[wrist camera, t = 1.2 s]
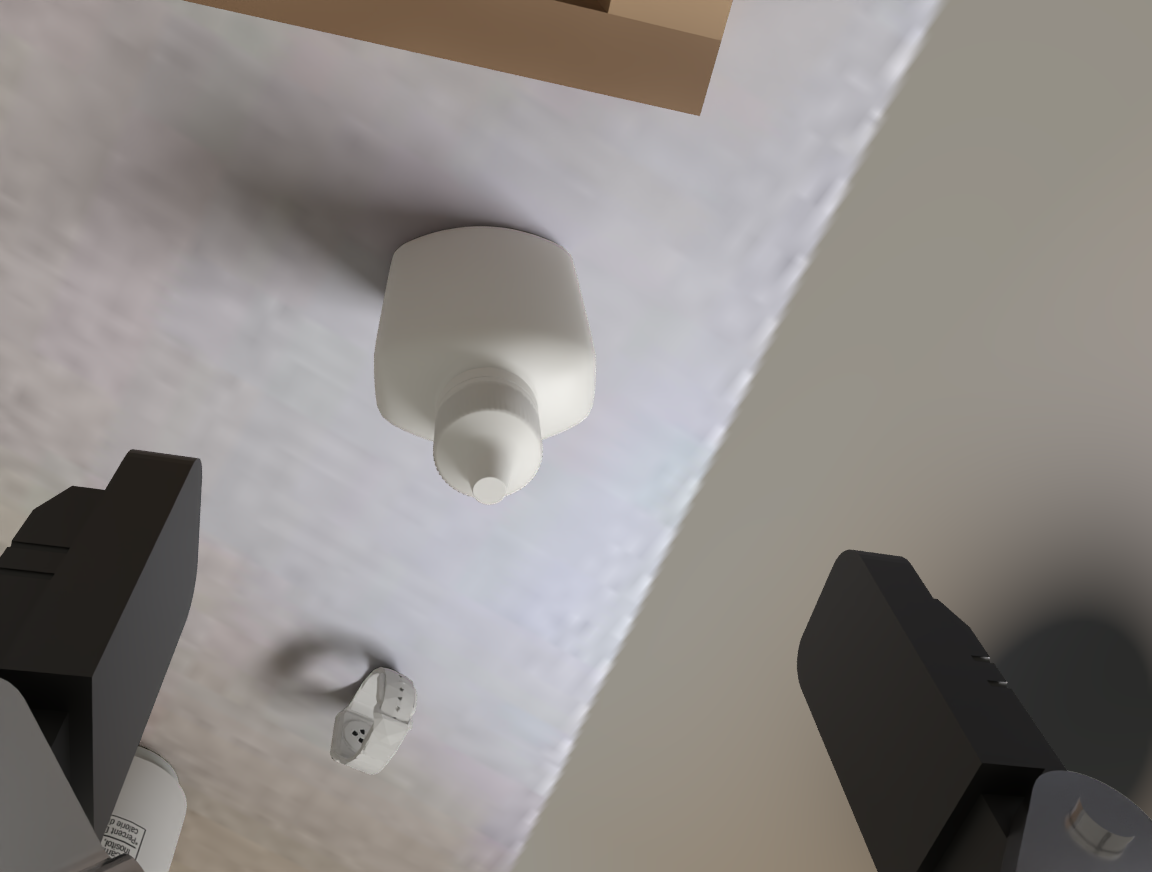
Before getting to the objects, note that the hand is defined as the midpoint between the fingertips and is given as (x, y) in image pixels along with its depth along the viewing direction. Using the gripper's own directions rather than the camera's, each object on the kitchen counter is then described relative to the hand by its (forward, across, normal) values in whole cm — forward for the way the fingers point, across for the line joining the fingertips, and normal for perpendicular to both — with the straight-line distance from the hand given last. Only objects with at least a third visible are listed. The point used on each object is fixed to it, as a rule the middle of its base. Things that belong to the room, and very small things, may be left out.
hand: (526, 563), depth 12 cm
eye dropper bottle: (+19, 0, +3) cm, 20 cm away
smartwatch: (+20, +1, +21) cm, 29 cm away
